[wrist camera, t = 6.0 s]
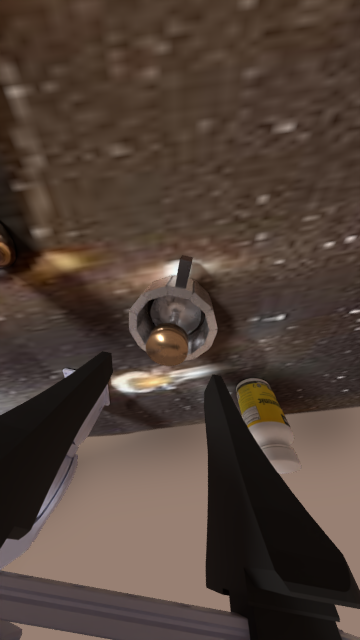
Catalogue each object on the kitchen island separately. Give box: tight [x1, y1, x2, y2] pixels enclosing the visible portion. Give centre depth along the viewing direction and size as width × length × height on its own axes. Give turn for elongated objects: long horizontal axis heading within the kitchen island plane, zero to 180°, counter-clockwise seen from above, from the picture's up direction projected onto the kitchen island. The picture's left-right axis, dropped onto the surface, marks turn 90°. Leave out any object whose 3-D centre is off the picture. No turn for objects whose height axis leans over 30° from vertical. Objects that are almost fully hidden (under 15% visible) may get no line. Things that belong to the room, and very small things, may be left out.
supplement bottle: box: [236, 378, 302, 474], centre depth 20 cm, size 5×5×10 cm
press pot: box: [129, 255, 218, 361], centre depth 16 cm, size 11×9×4 cm
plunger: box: [146, 295, 201, 366], centre depth 15 cm, size 6×6×7 cm
